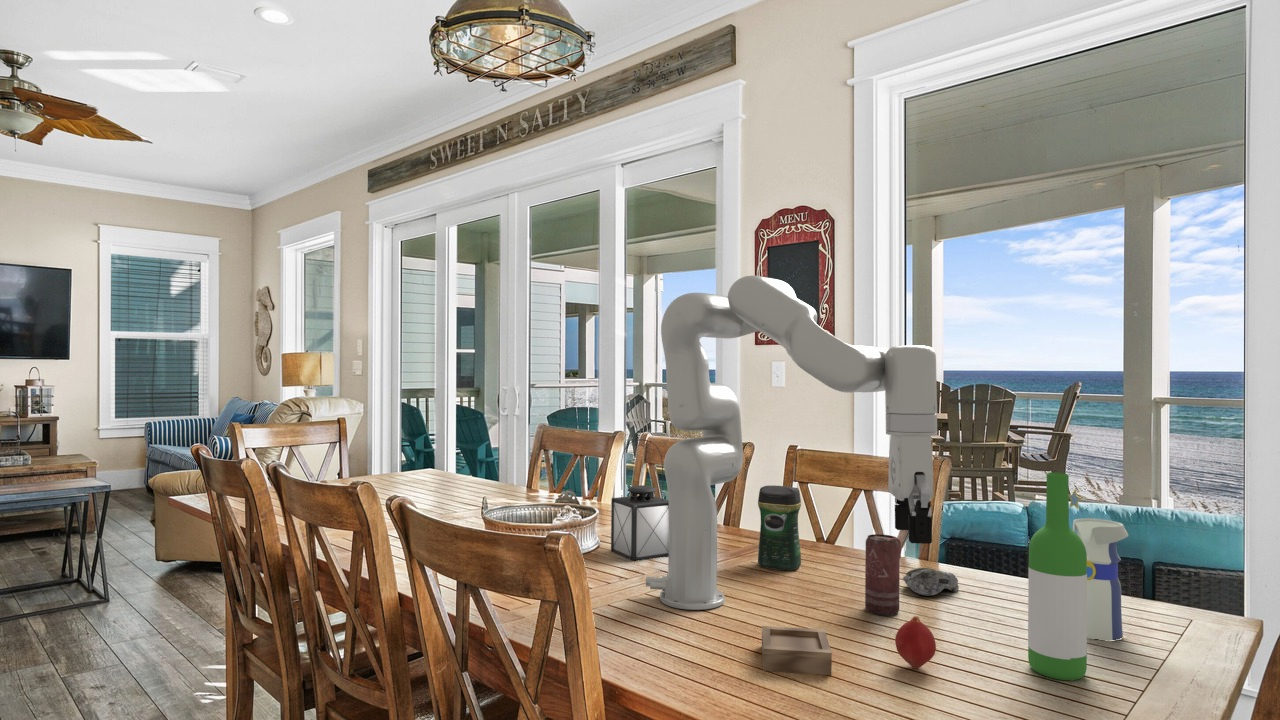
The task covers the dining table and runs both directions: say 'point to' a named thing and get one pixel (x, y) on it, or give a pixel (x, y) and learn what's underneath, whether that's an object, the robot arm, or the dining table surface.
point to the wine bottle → (1057, 590)
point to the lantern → (640, 523)
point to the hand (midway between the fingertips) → (912, 536)
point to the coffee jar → (779, 528)
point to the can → (882, 574)
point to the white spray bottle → (1101, 574)
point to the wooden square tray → (796, 650)
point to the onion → (915, 643)
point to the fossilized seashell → (930, 581)
